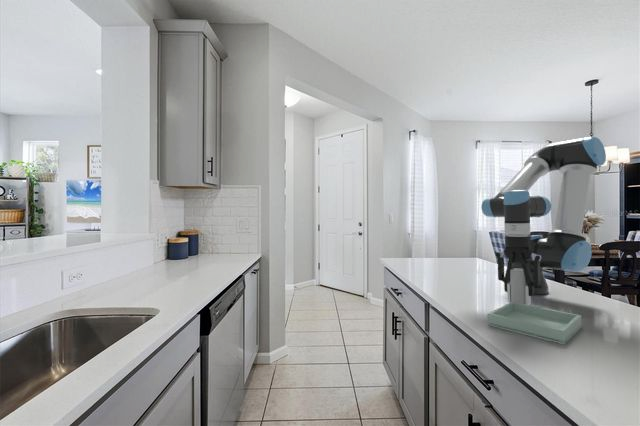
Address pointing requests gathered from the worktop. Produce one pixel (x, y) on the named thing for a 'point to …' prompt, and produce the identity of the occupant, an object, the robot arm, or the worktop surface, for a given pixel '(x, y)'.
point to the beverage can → (518, 285)
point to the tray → (536, 322)
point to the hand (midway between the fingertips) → (519, 303)
